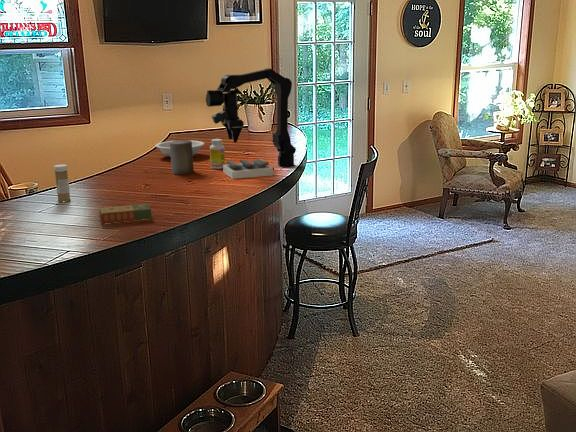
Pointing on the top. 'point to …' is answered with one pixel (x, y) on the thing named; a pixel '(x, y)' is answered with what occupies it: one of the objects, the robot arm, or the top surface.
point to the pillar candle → (181, 157)
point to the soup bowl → (165, 147)
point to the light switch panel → (247, 171)
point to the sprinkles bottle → (62, 182)
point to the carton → (125, 213)
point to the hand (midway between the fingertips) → (232, 141)
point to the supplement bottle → (217, 154)
